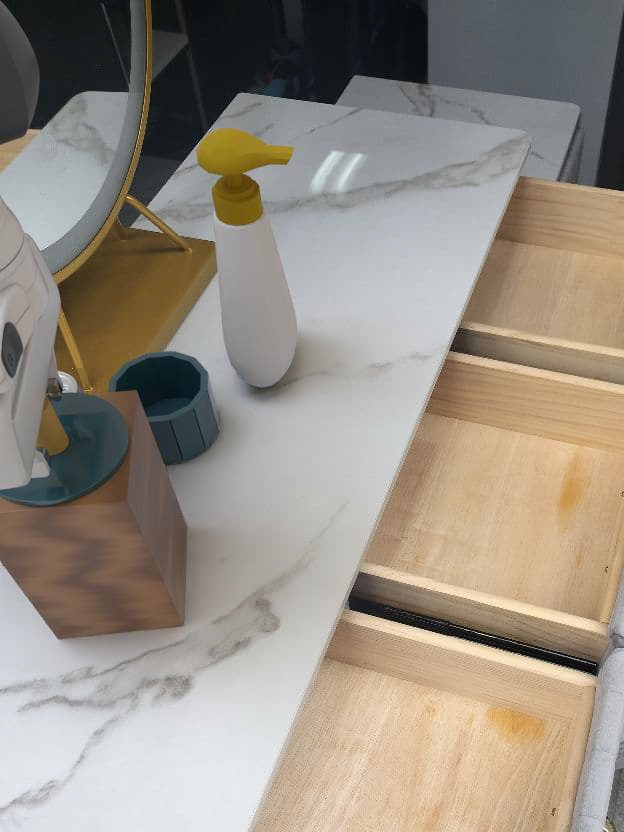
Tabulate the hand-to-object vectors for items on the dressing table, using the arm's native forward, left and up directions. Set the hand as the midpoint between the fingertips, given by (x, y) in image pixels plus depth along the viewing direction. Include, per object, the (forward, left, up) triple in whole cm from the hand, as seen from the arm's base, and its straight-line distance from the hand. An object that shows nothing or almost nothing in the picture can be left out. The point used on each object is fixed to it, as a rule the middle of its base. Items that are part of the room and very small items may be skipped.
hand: (46, 431), depth 64 cm
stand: (0, 0, -22) cm, 22 cm away
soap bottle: (+16, +29, -22) cm, 40 cm away
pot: (+4, +20, -22) cm, 30 cm away
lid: (0, 0, -2) cm, 2 cm away
